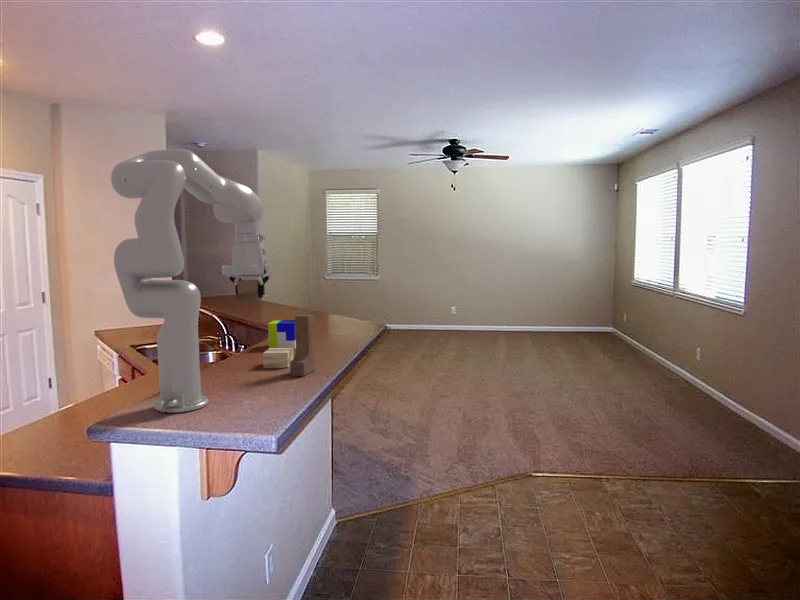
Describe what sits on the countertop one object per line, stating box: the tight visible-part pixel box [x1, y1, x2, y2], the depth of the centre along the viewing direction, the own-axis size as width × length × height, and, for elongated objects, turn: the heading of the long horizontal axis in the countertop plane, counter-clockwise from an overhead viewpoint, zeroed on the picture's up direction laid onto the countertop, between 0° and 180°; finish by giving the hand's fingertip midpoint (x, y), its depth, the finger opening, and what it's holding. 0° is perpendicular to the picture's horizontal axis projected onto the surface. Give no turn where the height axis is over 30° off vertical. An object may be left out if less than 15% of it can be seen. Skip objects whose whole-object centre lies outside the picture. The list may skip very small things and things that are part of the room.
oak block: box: [262, 347, 294, 369], centre depth 184 cm, size 8×8×5 cm
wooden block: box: [289, 313, 316, 378], centre depth 171 cm, size 9×4×18 cm, turn 166°
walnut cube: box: [237, 279, 264, 302], centre depth 173 cm, size 6×6×6 cm
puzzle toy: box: [267, 319, 296, 350], centre depth 216 cm, size 10×10×10 cm
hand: (250, 296), depth 173 cm, fingers closed on walnut cube, 6 cm apart
